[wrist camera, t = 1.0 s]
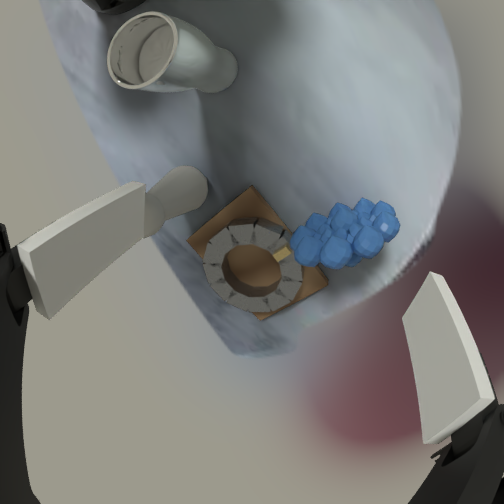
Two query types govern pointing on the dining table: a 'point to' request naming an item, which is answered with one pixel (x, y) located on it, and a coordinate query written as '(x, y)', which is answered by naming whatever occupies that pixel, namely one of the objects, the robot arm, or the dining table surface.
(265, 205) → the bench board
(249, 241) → the grey segmented ring
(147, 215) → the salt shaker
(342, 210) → the grapes
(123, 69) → the beer glass
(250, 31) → the dining table surface
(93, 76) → the dining table surface
